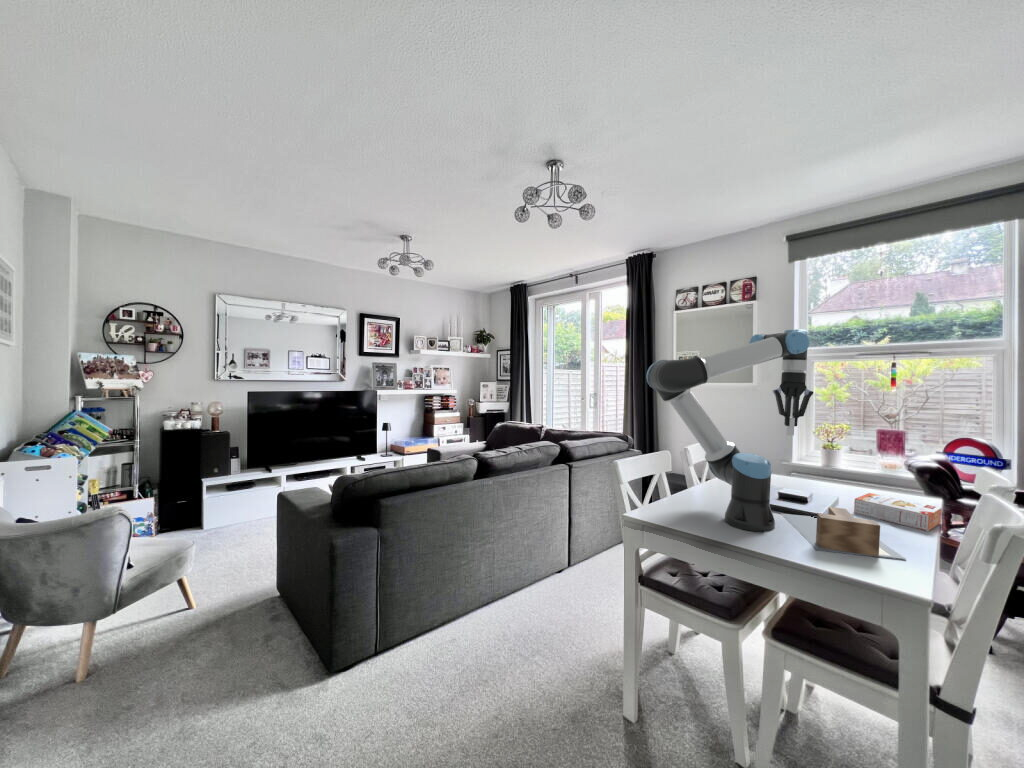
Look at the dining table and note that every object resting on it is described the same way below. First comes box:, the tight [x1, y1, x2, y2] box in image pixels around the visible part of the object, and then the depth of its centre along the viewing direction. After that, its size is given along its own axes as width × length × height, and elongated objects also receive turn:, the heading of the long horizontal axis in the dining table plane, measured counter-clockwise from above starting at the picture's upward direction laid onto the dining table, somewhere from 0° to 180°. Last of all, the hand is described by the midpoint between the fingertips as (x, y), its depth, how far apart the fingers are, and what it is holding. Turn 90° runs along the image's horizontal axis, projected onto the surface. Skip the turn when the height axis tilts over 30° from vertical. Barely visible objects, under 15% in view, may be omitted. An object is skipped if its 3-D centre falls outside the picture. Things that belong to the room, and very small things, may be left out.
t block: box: [816, 506, 881, 558], centre depth 131 cm, size 14×14×9 cm
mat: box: [780, 513, 906, 560], centre depth 139 cm, size 22×32×1 cm
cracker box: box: [853, 492, 943, 532], centre depth 155 cm, size 14×6×21 cm
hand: (790, 434), depth 159 cm, fingers closed
